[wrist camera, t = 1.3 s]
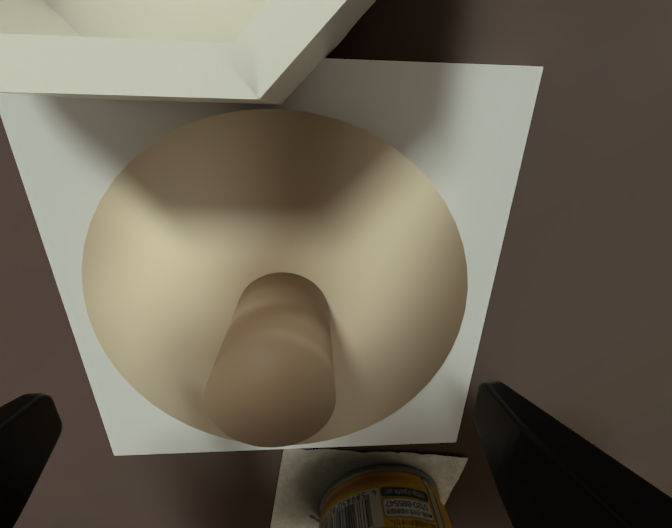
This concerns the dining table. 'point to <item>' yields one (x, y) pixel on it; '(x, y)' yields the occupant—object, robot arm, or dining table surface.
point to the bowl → (169, 47)
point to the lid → (274, 277)
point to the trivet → (319, 98)
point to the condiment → (364, 489)
